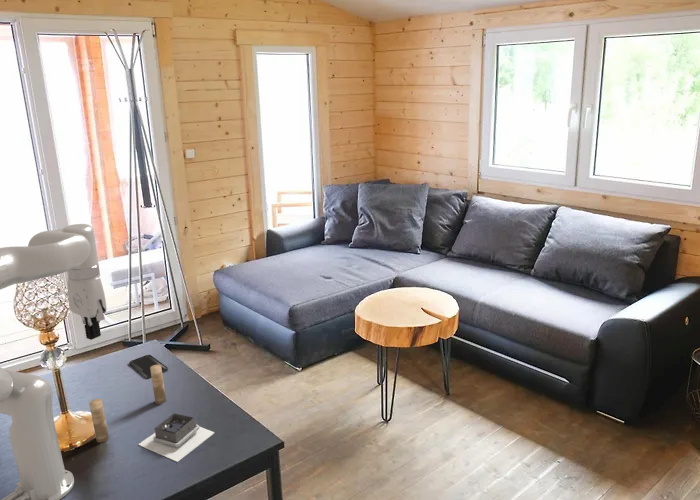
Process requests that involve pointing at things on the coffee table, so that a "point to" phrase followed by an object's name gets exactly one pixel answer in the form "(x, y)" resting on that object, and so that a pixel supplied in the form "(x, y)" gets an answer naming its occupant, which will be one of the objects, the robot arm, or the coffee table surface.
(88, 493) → the coffee table surface
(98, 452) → the coffee table surface
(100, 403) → the near oak dowel
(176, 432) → the electrical switch
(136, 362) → the phone
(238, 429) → the coffee table surface
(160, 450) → the mat
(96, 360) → the coffee table surface
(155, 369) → the far oak dowel
